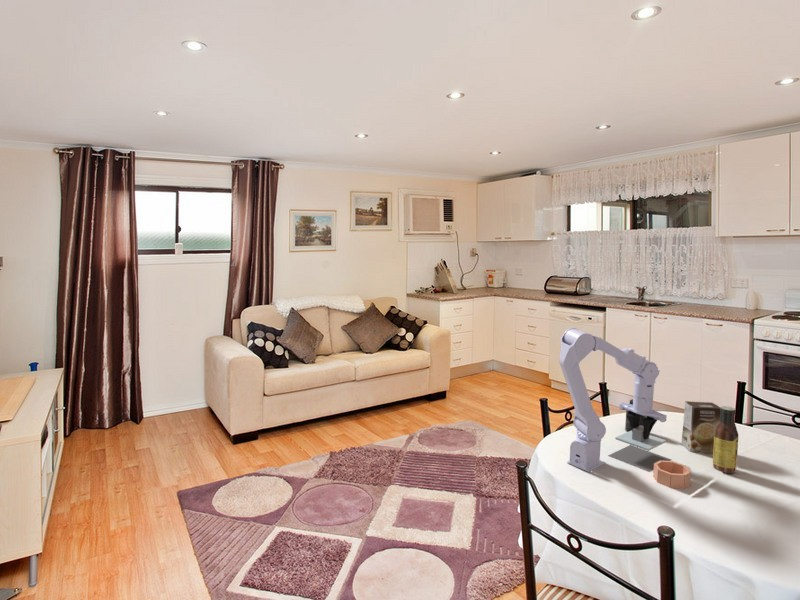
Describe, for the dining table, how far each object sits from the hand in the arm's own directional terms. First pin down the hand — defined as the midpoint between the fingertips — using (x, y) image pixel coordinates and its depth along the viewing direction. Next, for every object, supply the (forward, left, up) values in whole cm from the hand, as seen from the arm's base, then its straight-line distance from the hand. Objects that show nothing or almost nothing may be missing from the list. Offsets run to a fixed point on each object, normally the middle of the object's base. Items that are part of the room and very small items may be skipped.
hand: (640, 436), depth 162 cm
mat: (0, 0, -8) cm, 8 cm away
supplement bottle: (+20, +12, -8) cm, 25 cm away
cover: (0, 0, -1) cm, 1 cm away
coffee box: (+23, -9, -8) cm, 26 cm away
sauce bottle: (+14, -20, -8) cm, 25 cm away
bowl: (-7, -14, -8) cm, 17 cm away
